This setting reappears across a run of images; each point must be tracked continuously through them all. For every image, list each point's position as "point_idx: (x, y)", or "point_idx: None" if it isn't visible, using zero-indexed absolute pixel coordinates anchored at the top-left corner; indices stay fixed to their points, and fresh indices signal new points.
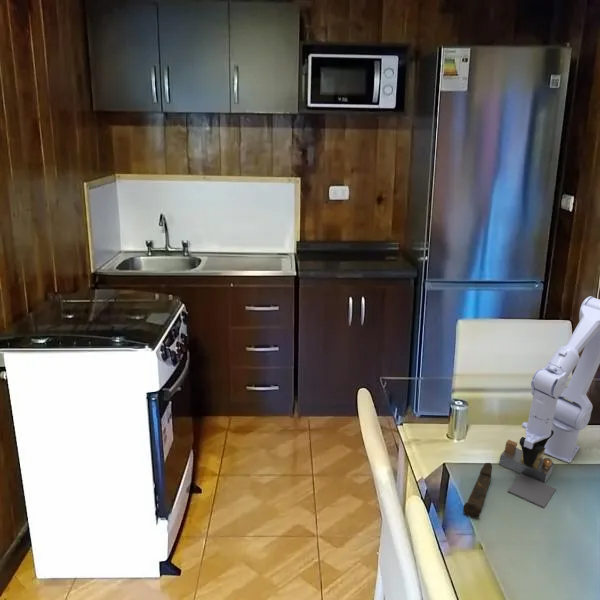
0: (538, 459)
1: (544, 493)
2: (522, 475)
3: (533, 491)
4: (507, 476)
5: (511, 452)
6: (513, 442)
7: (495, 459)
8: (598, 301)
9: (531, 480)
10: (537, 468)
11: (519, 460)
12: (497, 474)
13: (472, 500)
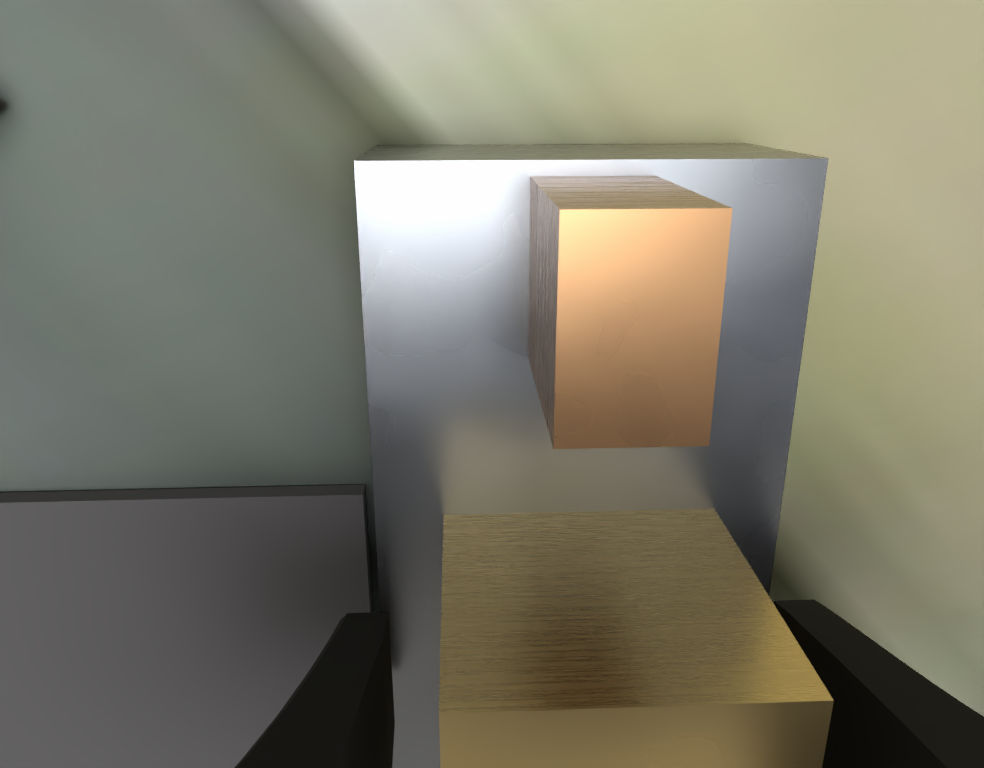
0: None
1: None
2: (339, 526)
3: (126, 725)
4: (189, 366)
5: (532, 327)
6: (668, 365)
7: (472, 41)
8: None
9: (322, 641)
10: (435, 754)
11: (443, 496)
12: (111, 234)
13: None
